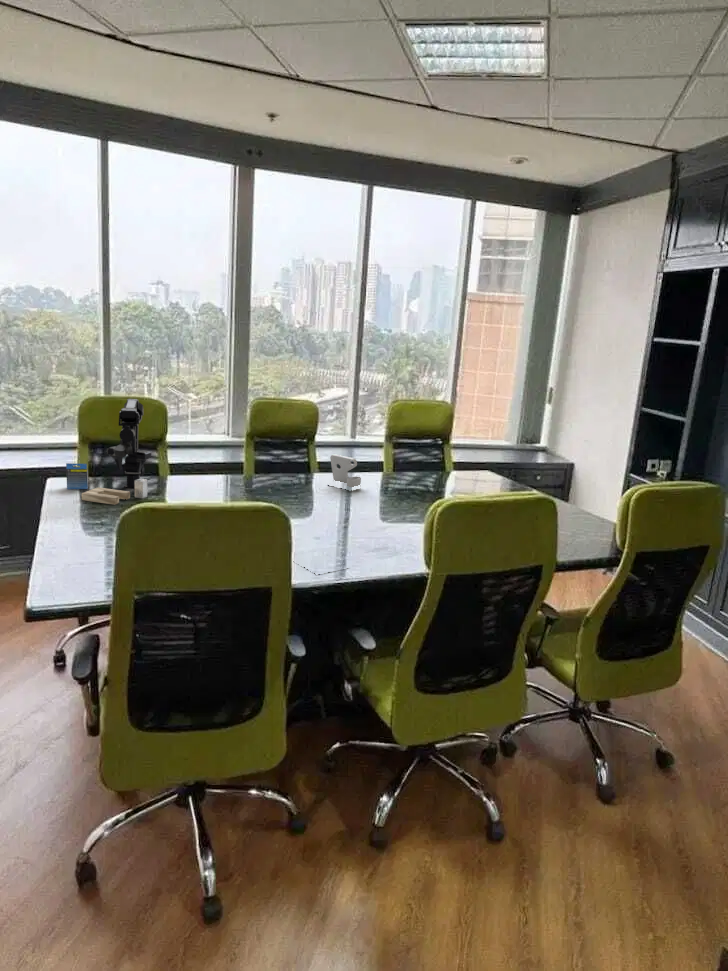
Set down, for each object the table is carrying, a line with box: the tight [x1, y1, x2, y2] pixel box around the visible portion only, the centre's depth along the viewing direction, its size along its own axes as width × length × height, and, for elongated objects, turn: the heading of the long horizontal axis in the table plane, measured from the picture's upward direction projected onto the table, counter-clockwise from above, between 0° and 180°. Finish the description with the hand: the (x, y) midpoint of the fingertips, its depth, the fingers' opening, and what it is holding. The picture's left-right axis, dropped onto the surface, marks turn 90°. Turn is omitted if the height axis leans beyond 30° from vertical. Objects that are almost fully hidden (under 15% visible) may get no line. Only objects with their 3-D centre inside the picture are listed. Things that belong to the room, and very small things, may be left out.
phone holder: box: [329, 453, 362, 487], centre depth 325 cm, size 17×10×18 cm, turn 57°
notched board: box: [81, 487, 131, 505], centre depth 267 cm, size 12×16×3 cm
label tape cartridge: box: [65, 462, 89, 490], centre depth 278 cm, size 9×4×12 cm, turn 108°
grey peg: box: [134, 478, 148, 499], centre depth 274 cm, size 4×4×8 cm
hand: (129, 471), depth 269 cm, fingers open, 9 cm apart
